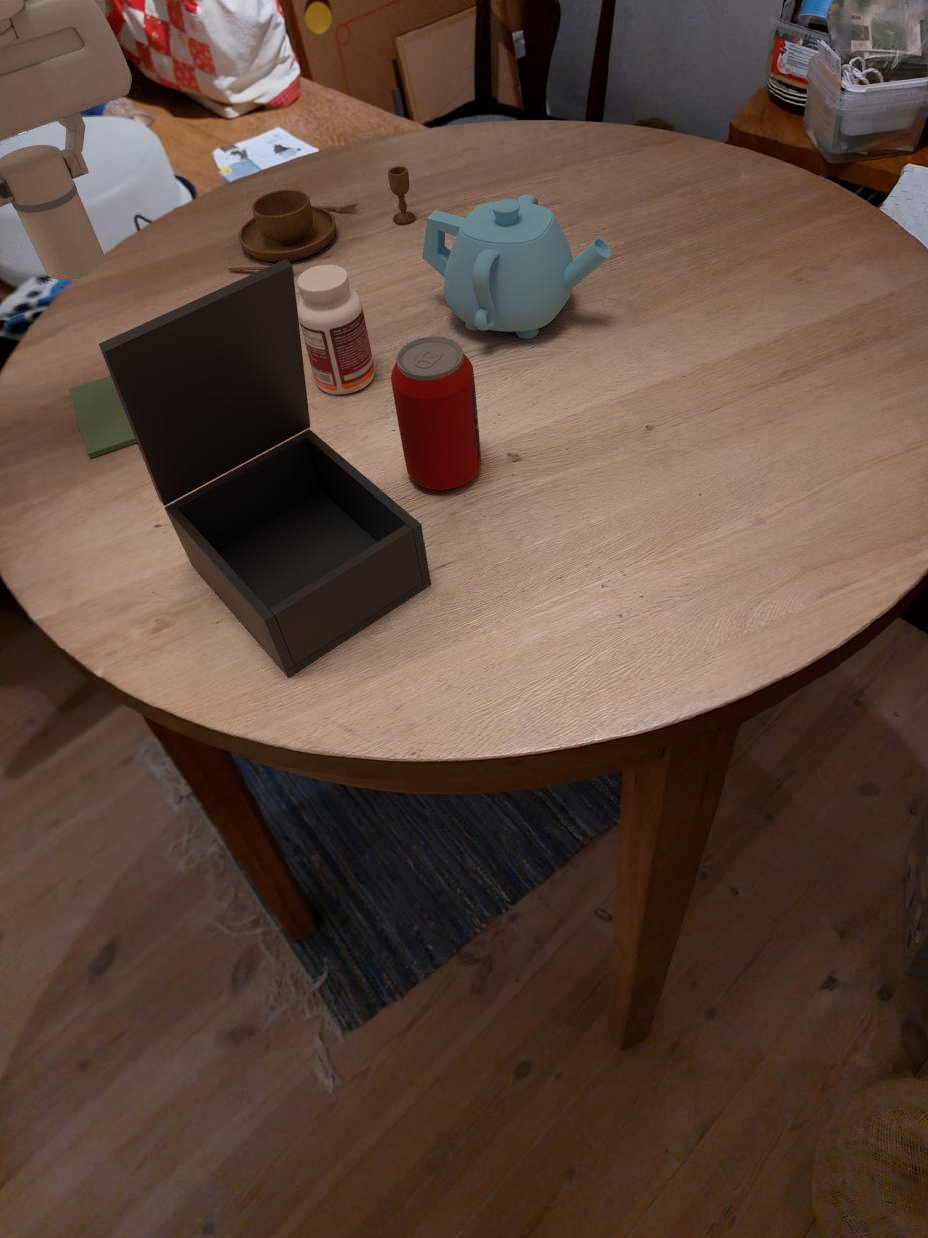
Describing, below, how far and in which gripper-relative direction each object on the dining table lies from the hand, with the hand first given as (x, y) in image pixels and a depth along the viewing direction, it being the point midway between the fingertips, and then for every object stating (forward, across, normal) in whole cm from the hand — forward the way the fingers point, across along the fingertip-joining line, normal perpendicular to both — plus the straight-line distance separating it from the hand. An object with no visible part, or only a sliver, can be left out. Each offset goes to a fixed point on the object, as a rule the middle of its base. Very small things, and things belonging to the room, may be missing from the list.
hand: (40, 188), depth 72 cm
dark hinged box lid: (+7, 0, +27) cm, 27 cm away
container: (+7, 0, 0) cm, 7 cm away
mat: (+22, 0, 0) cm, 22 cm away
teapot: (+22, -37, +16) cm, 46 cm away
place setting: (+22, -31, -14) cm, 41 cm away
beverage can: (+22, -16, +30) cm, 40 cm away
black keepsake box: (+22, 0, +32) cm, 39 cm away
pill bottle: (+22, -18, +12) cm, 30 cm away
